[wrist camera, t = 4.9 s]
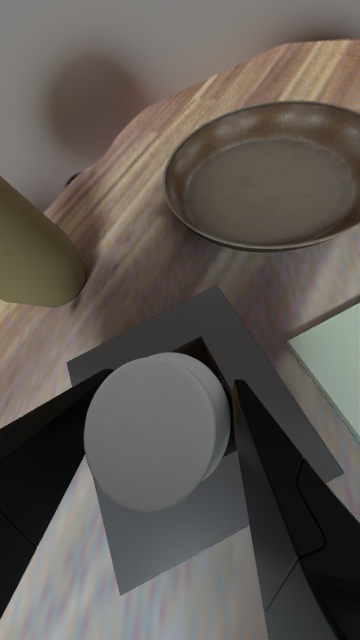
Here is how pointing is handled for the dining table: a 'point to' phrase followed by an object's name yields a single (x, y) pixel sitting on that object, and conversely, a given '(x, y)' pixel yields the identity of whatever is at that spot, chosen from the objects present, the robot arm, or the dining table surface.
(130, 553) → the holder
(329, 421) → the dining table surface
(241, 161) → the plant saucer
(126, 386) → the supplement bottle
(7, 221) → the squeeze bottle
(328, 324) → the tile
